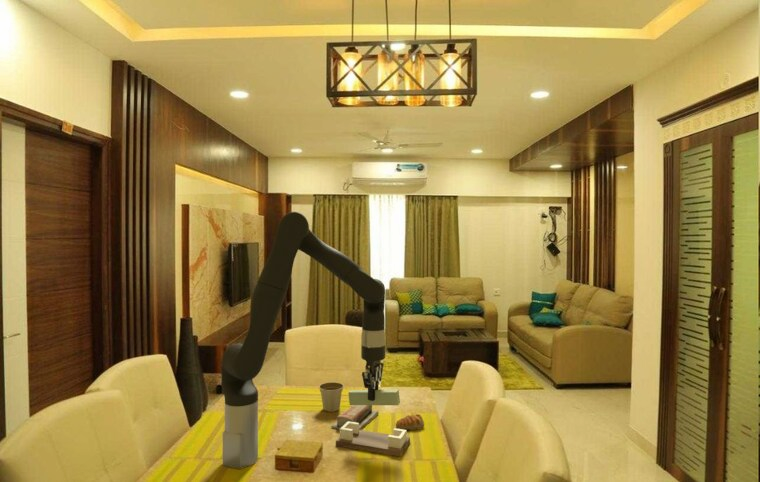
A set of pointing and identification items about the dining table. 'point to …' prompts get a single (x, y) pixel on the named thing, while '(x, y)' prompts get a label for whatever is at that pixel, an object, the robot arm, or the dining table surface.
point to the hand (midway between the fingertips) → (373, 398)
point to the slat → (380, 397)
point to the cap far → (349, 430)
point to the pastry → (410, 422)
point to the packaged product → (356, 416)
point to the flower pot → (331, 395)
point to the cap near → (397, 438)
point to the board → (372, 443)
